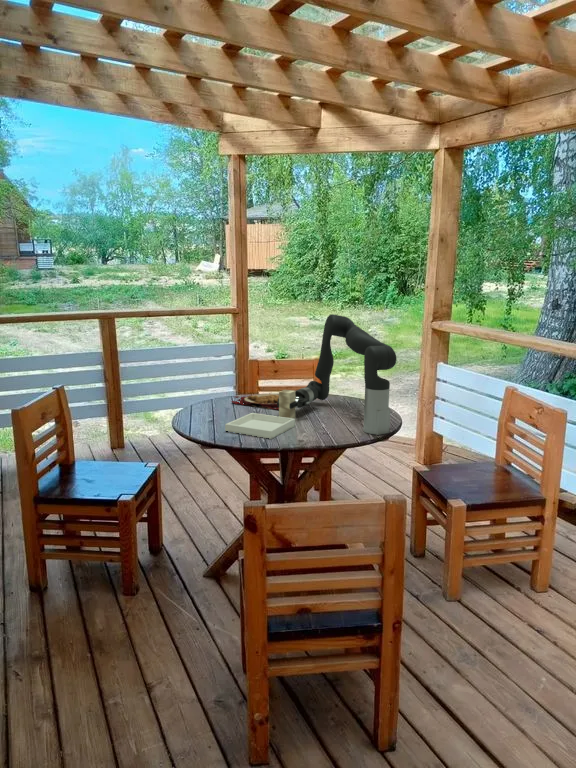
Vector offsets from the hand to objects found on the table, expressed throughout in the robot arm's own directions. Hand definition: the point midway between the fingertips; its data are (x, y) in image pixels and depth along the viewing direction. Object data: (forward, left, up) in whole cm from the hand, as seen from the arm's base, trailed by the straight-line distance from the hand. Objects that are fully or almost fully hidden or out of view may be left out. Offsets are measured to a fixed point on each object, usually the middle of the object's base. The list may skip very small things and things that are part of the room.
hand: (284, 405), depth 225 cm
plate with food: (+33, -12, -8) cm, 36 cm away
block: (+1, -2, -7) cm, 7 cm away
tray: (-5, +14, -7) cm, 16 cm away
